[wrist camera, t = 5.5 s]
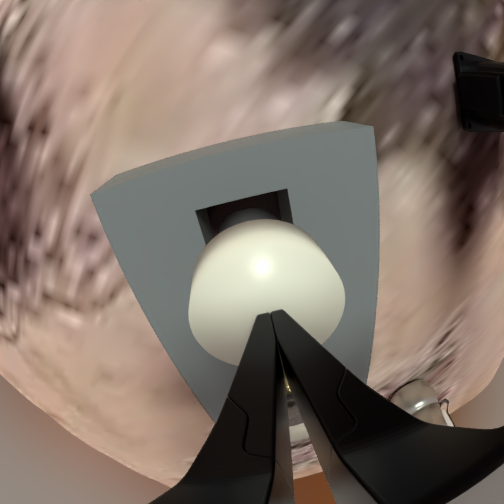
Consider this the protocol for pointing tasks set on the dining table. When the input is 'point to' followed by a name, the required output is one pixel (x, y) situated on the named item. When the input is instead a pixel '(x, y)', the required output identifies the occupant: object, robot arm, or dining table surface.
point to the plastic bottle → (420, 402)
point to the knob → (260, 283)
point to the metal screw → (292, 407)
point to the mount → (238, 187)
